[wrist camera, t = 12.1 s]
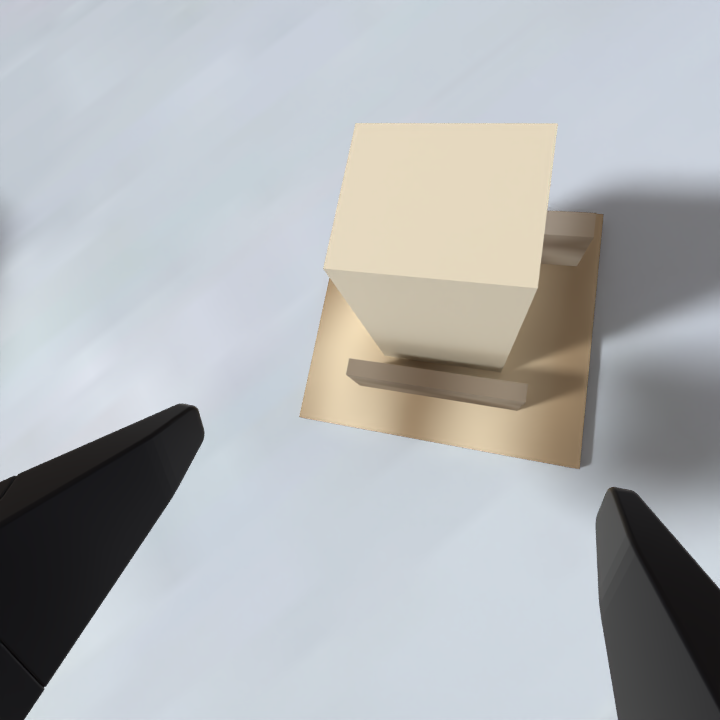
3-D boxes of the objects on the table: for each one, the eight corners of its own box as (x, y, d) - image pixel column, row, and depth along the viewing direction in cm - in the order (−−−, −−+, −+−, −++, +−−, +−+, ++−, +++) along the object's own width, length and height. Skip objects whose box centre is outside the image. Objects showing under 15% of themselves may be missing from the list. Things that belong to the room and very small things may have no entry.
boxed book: (515, 275, 23) (560, 115, 12) (502, 372, 22) (539, 288, 11) (400, 265, 24) (355, 116, 14) (384, 355, 23) (321, 268, 13)
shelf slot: (599, 220, 23) (623, 178, 20) (576, 468, 21) (598, 469, 17) (348, 207, 27) (332, 169, 23) (303, 417, 24) (277, 410, 21)
